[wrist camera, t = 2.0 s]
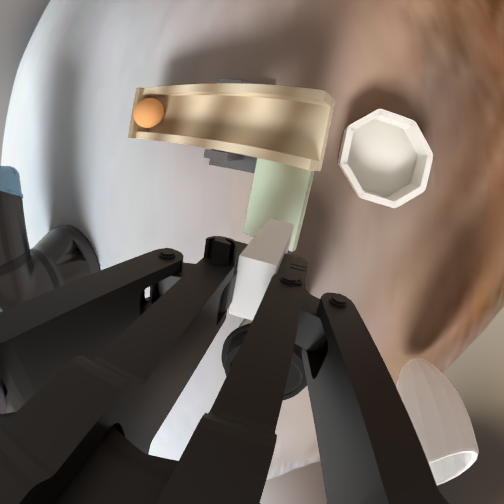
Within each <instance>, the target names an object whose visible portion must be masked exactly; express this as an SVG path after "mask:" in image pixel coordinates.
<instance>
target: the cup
mask: <svg viewBox="0 0 504 504" xmlns="http://www.w3.org/2000/svg"><path fill="white" fill-rule="evenodd" d="M396 388H397V390H398V392H399V394H400V397H401V399H402V401H403V403H404V405H405V408H406V410H407V412H408V414H409V417H410V419H411V421H412V424H413V426H414V428H415V431H416V433H417V436H418V438H419V440H420V443H421V445H422V448H423V450H424V453H425V455H426V458H427V460H428V463H429V466H430V468H431V471H432V474H433V476H434V479H435V482H436V485H439V484H442V483H445V482H447V481H449V480H451V479H453V478H455V477H456V476H458V475H459V474H461V473H462V472H464V471H465V470H466V469H468V468H469V467H470V466H471V465H472V464H473V463H474V462H475V460H476V458H477V455H478V446H477V442H476V438H475V435H474V431H473V427H472V424H471V420H470V418H469V416H468V413H467V411H466V409H465V406H464V404H463V402H462V400H461V398H460V395H459V394H458V392H457V391H456V390H455V389H454V387H453V386H452V385H451V383H450V382H449V381H448V379H447V378H446V377H445V376H444V375H443V374H442V373H441V372H440V371H439V370H438V369H437V368H436V367H435V366H434V365H433V364H432V363H430V362H429V361H427V360H425V359H423V358H414V359H412V360H409V361H408V362H407V363H405V364H404V365H403V367H402V368H401V371H400V374H399V377H398V381H397V385H396Z"/></svg>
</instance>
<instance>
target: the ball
mask: <svg viewBox="0 0 504 504" xmlns="http://www.w3.org/2000/svg"><path fill="white" fill-rule="evenodd" d="M133 116H134V120H135V122H136V123H137V124H138V125H139V126H141V127H144V128H151V127H154V126H156V125H157V124H158V123H160V121H161V120H162V118H163V116H164V108H163V105H162V104H161V102H160V101H158V100H157V99H154V98H146V99H143V100H141V101H140V102H139V103H138V104H137V105H136V107H135V109H134V112H133Z"/></svg>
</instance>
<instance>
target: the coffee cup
mask: <svg viewBox="0 0 504 504" xmlns="http://www.w3.org/2000/svg"><path fill="white" fill-rule="evenodd" d="M251 323H252V320H249V319H245V318H244V320H243V321H242V323H241V324H240V326H239V328H237V329H235V330H234V331H233V332H231V333H230V334H229V336H228V337H227V338H226V340H225V342H224V345H223V350H222V364H223V367H224V369H225V373H226V376H227V375H228V373H229V371H230V369H231V366H232V364H233V362H234V360H235V358H236V356H237V354H238V351H239V349H240V347H241V345H242V343H243V341H244V338H245V336H246V334H247V332H248V330H249V327H250V325H251ZM306 386H307V380H306V374H305V369H304V364H303V359H302V347H300V346H298V345H296V344H294V349H293V354H292V359H291V364H290V369H289V373H288V378H287V382H286V387H285V391H284V396H283V400H286V399H289V398H291V397H293V396H295V395H297V394H298V393H299V392H300V391H301V390H302V389H304V388H305V387H306Z"/></svg>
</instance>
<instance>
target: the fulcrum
mask: <svg viewBox="0 0 504 504" xmlns="http://www.w3.org/2000/svg"><path fill="white" fill-rule="evenodd" d="M218 83H240V84H260V83H251V82H243V81H242V80H234V79H222V78H219V79H218ZM265 85H267V84H265ZM204 157H205V158H210V162H209V165H215V166H220V167H226V168H231V169H236V170H241V171H246V172H251V173H255V168H256V162H257V158H256V157H251V156H247V155H242V154H237V153H232V152H226V151H221V150H216V149H212V150H209V149H205V152H204Z"/></svg>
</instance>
